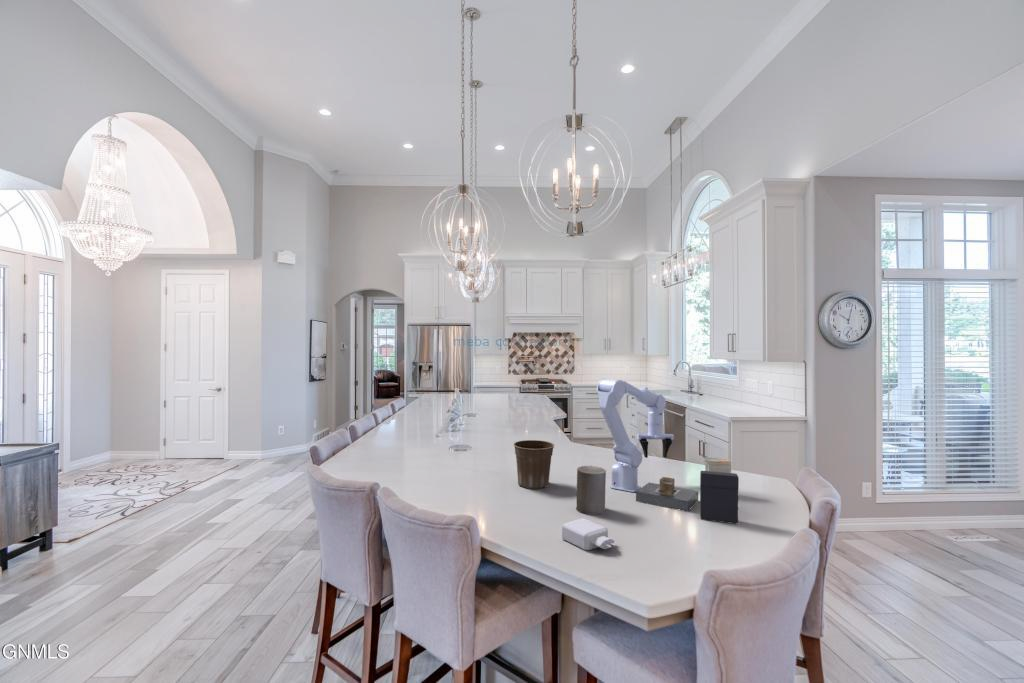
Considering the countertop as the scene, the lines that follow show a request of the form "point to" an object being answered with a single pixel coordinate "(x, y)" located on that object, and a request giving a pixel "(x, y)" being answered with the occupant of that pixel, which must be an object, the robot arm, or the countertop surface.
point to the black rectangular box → (719, 496)
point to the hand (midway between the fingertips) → (655, 457)
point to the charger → (586, 534)
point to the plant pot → (533, 463)
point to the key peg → (667, 485)
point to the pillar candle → (591, 490)
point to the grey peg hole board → (667, 497)
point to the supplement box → (718, 465)
